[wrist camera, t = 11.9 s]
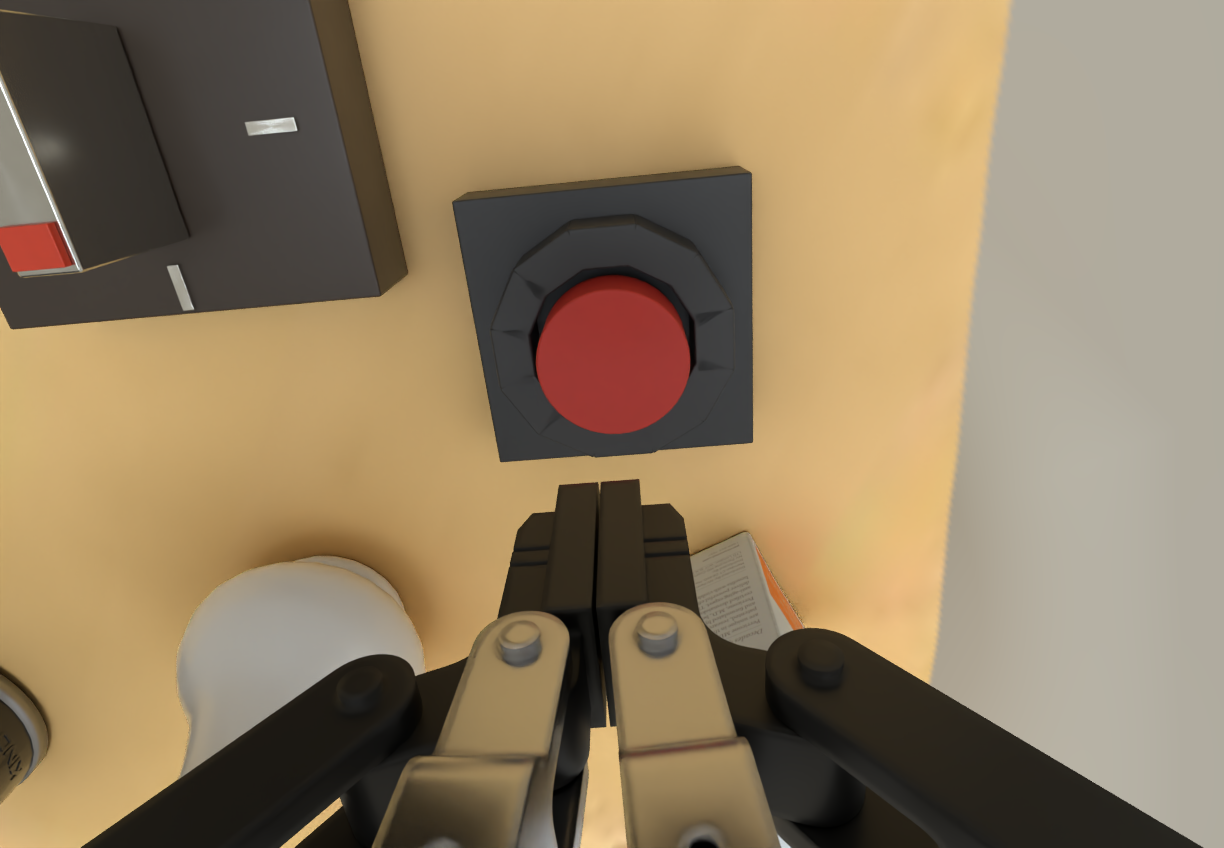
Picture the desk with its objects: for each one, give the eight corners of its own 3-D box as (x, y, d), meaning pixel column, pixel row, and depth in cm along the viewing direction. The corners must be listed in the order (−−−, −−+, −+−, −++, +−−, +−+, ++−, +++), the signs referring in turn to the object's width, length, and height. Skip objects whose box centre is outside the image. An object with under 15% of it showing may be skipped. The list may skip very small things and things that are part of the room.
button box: (509, 435, 26) (491, 488, 23) (466, 192, 22) (436, 209, 19) (743, 417, 26) (763, 468, 22) (740, 165, 22) (763, 178, 18)
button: (551, 416, 22) (546, 440, 20) (532, 281, 20) (524, 296, 18) (688, 405, 22) (694, 429, 20) (681, 267, 20) (687, 282, 18)
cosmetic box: (806, 623, 30) (911, 917, 19) (719, 659, 31) (773, 958, 20) (748, 523, 28) (830, 791, 17) (656, 565, 29) (679, 844, 18)
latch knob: (59, 32, 18) (-118, 9, 14) (117, 25, 18) (-43, 0, 14) (139, 243, 20) (10, 281, 16) (190, 238, 20) (75, 275, 16)
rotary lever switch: (78, 304, 24) (6, 331, 21) (-67, -28, 20) (-182, -49, 17) (408, 274, 24) (379, 298, 21) (331, -75, 19) (281, -105, 17)
